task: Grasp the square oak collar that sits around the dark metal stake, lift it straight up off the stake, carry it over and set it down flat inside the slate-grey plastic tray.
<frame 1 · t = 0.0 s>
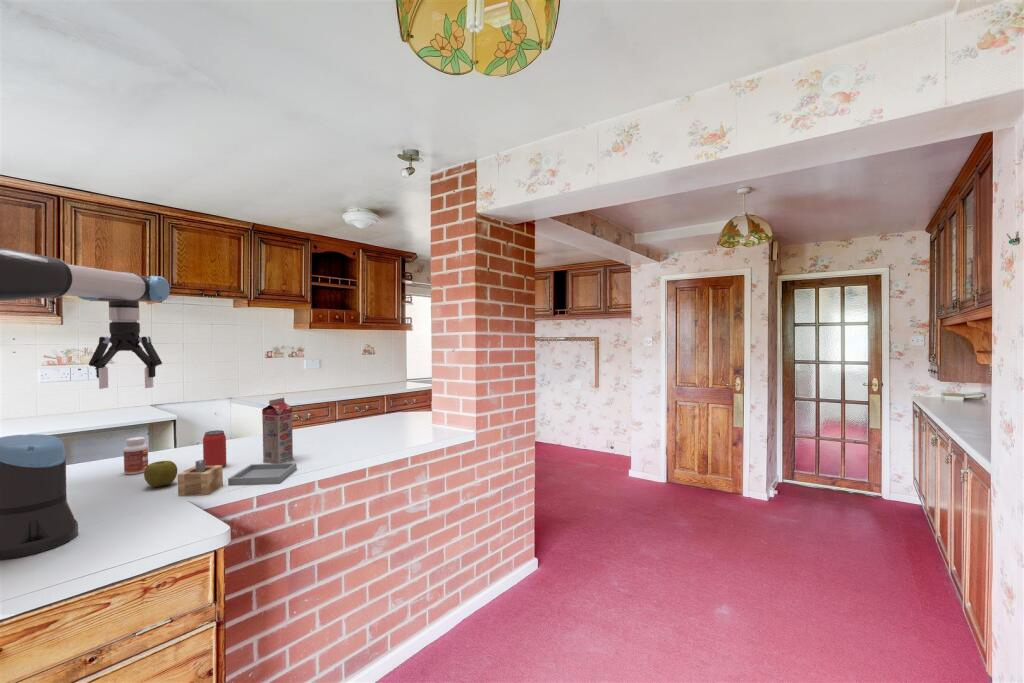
hand: (126, 388, 150), 28 cm above the counter, fingers open, 13 cm apart
stake: (201, 490, 137), on the counter
oak ring: (201, 490, 137), on the counter
apple: (161, 486, 140), on the counter
pill bottle: (136, 472, 154), on the counter
tray: (264, 476, 149), on the counter
beer can: (215, 467, 159), on the counter
juice carton: (278, 461, 166), on the counter
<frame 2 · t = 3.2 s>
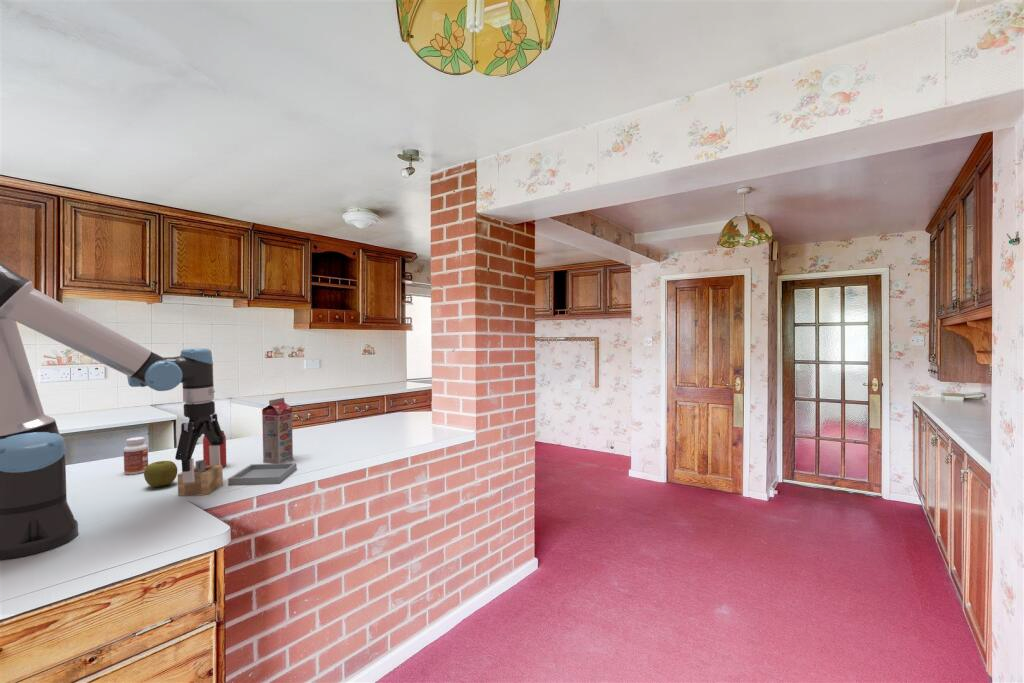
hand: (202, 474, 137), 5 cm above the counter, fingers open, 13 cm apart
nothing on the counter moved.
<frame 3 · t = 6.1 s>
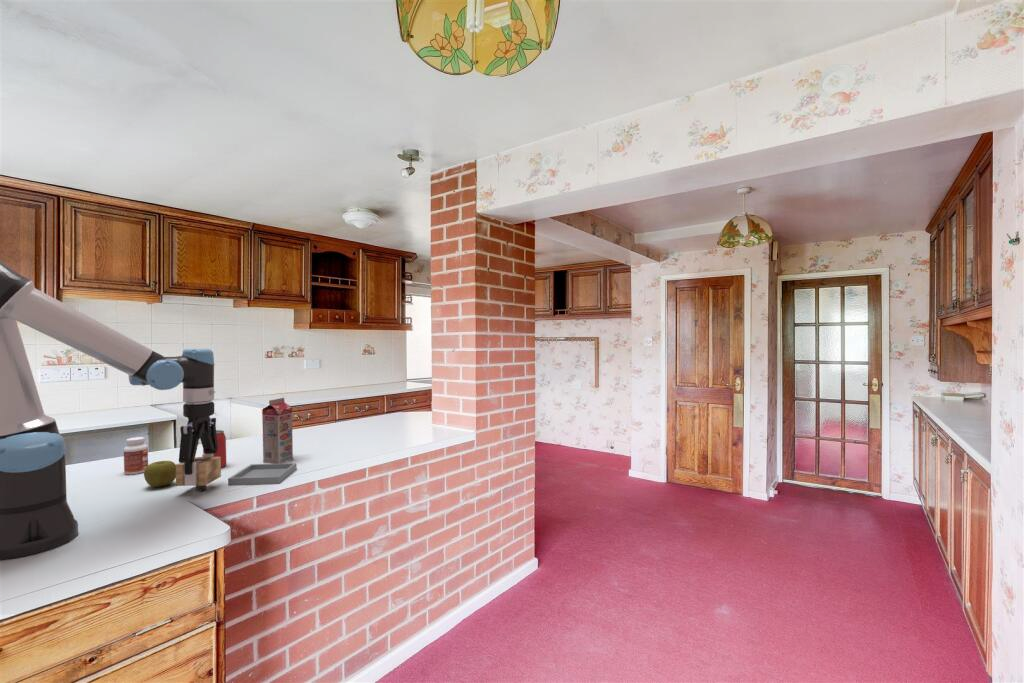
hand: (199, 480, 136), 3 cm above the counter, fingers closed on oak ring, 8 cm apart
oak ring: (199, 481, 136), point 3 cm above the counter, touching gripper
everything else where it was.
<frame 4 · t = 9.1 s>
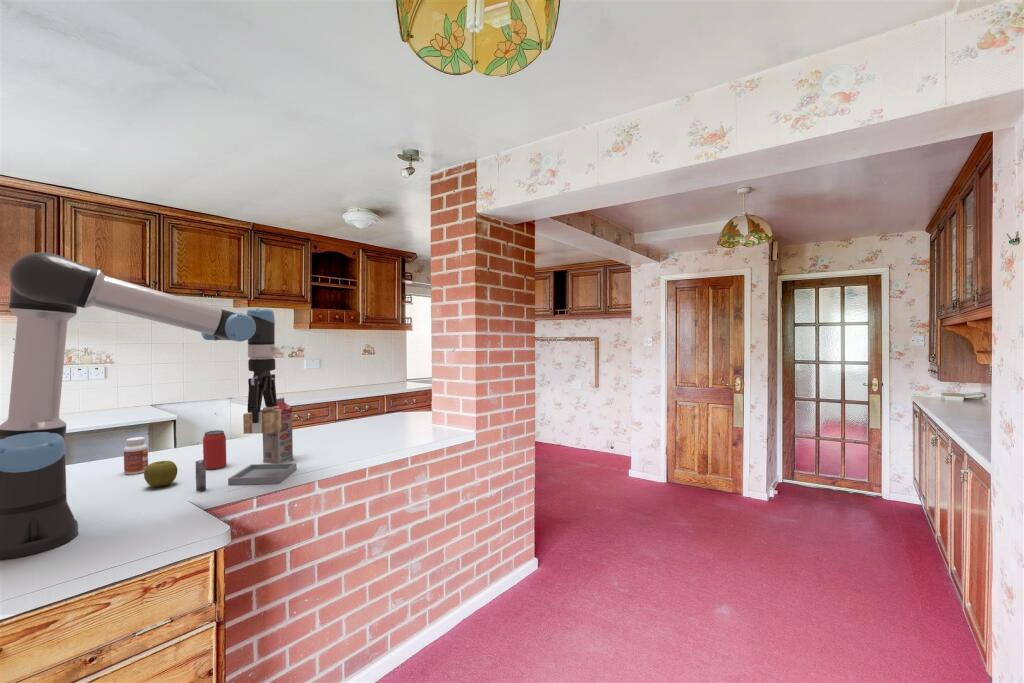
hand: (263, 429, 148), 15 cm above the counter, fingers closed on oak ring, 8 cm apart
oak ring: (263, 430, 148), point 15 cm above the counter, touching gripper
everything else where it was.
when the fingers open (2 cm above the counter, at t = 12.2 s): oak ring stays where it is, resting on tray.
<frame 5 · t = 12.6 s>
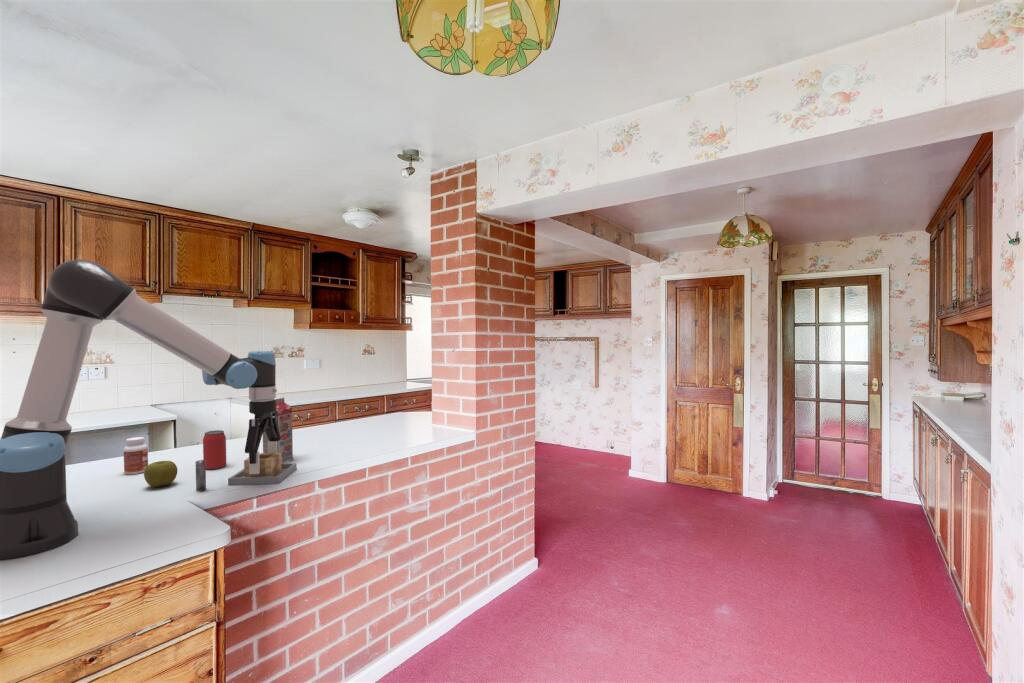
hand: (264, 467, 149), 3 cm above the counter, fingers open, 12 cm apart
oak ring: (263, 475, 149), resting on tray
everything else where it was.
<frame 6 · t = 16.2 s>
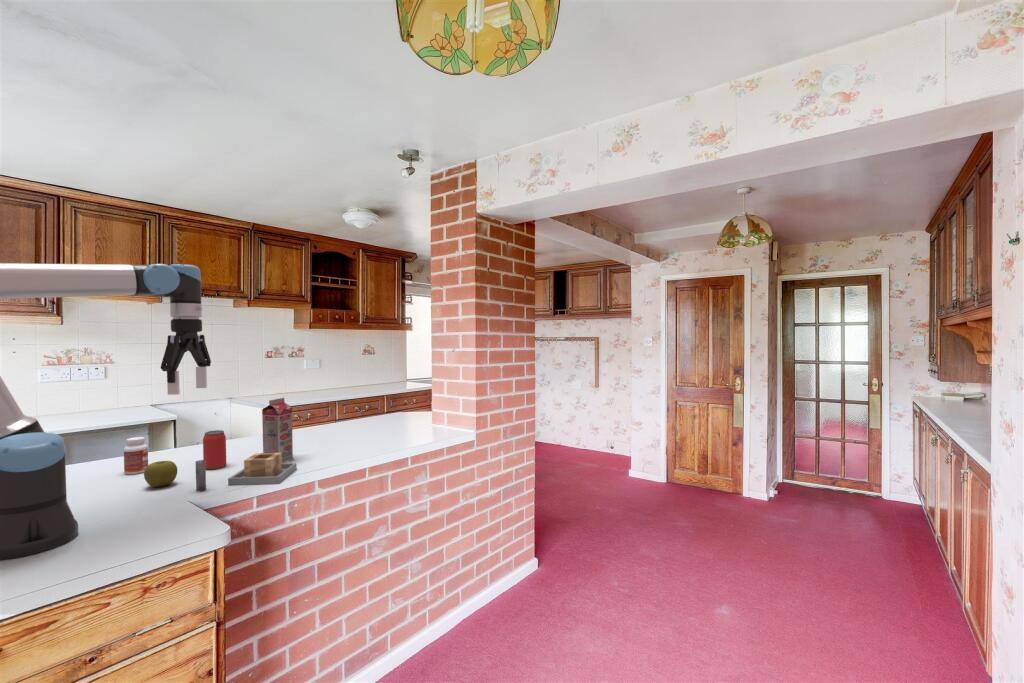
hand: (188, 391, 137), 29 cm above the counter, fingers open, 13 cm apart
nothing on the counter moved.
at the end: oak ring inside the target area on the tray (0.1 cm from its centre), point 0.5 cm above the tray's base; oak ring tilted 0°; the gripper is holding nothing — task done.
